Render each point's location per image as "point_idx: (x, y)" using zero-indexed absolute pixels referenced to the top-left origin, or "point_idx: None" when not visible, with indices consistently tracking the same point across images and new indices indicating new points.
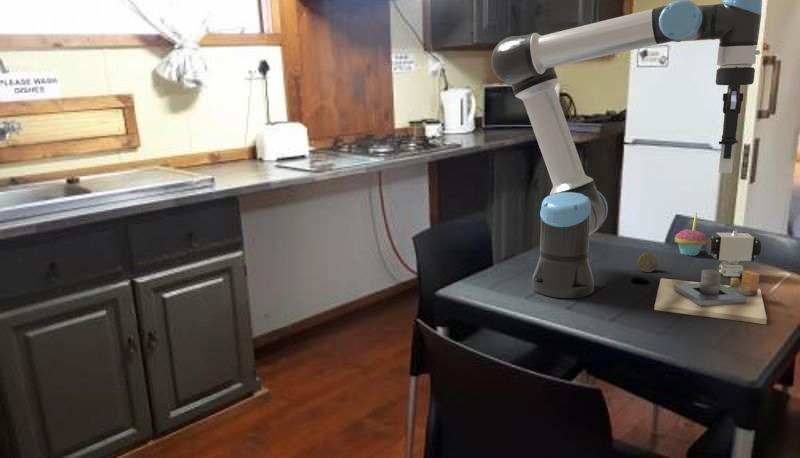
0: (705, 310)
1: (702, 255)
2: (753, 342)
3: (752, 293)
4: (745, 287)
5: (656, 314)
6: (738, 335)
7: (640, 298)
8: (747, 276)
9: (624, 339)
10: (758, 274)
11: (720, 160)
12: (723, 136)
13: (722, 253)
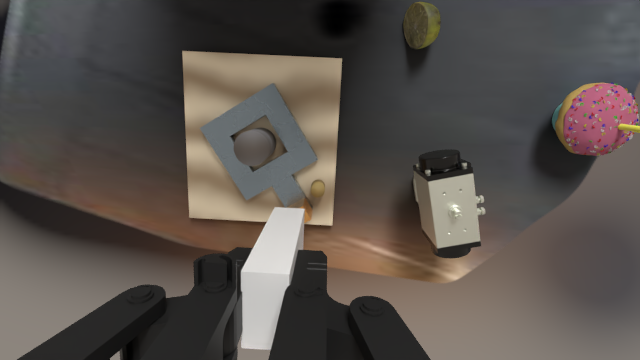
0: (189, 134)
1: (558, 144)
2: (116, 191)
3: None
4: (295, 203)
5: (167, 56)
6: (132, 174)
7: (237, 25)
8: None
9: (37, 9)
10: None
11: (263, 230)
12: (113, 312)
13: (417, 179)
